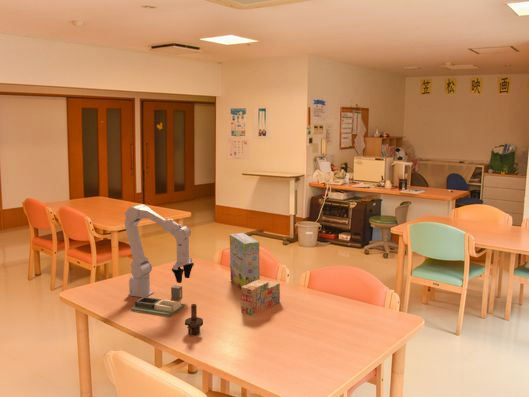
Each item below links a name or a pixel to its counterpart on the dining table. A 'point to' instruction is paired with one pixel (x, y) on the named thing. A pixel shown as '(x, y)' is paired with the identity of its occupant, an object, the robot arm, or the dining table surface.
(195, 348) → the dining table surface
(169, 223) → the robot arm
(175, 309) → the board
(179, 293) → the plug
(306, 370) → the dining table surface
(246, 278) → the snack box
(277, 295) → the stack of blocks
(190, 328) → the industrial component
